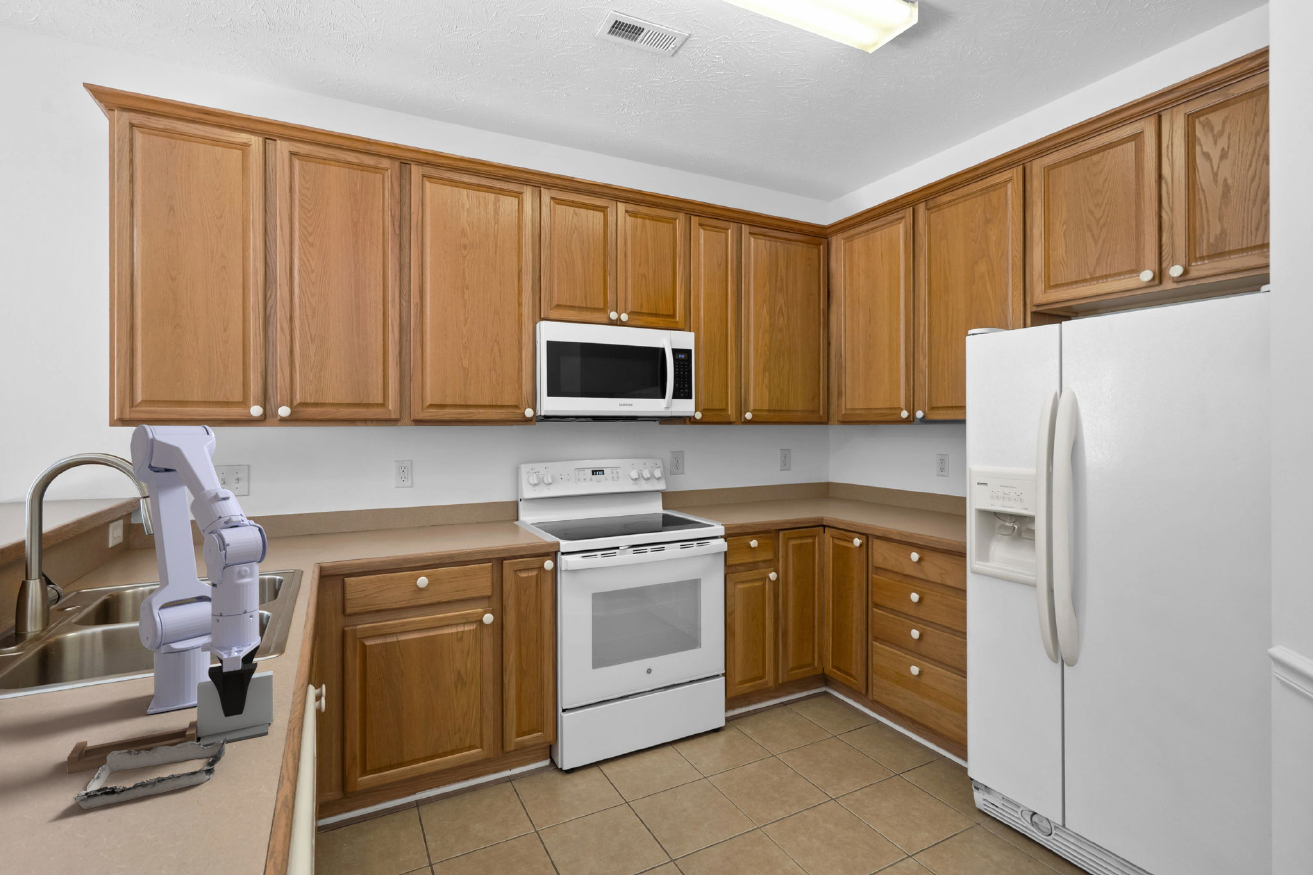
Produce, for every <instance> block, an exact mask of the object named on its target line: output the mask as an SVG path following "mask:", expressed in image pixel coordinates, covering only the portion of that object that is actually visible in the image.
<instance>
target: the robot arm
mask: <svg viewBox="0 0 1313 875" xmlns="http://www.w3.org/2000/svg"><path fill="white" fill-rule="evenodd" d="M216 441H217V439H216V436H215V433H214V431H213V430H212V428H211V427H210V426H208V425H206V424H201V425H149V424H148V425H147V424H139V425H137V427H136V428H135V429H134V430H133V432H132V435H131V440H130V445H129V446H130V448H129V449H130V456H131V458H130V459H131V465H132V466H131V467H132V472H133V474H134V475H133V476H134V479H135V480H136V481H139V482H142V483H144V484H146V488H147V491H148V496H149V502H150V503H149V504H150V512H151V520H152V529H153V538H154V545H155V553H156V554H155V556H156V560H157V561H156V562H157V571H158V578H159V579H158V580H159V586H158V587H157V588H156V589H155V590H153V591H152V592H151V593H150V594H149V595H147V596H146V597H145V598H144V599H143V600H142V602H141V603H140V607H139V621H138V633H139V634H138V635H139V638H140V641H141V644H142V645H143V647H144V648H146V649H147V650H149V651H153V698H152V700H151V702H150V704H149V705H148V709H147V710H146V714H148V715H151V714H157V713H162V712H167V711H174V710H179V709H186V708H191V707H197V686H198V683H200V682H206V681H212V682H213V683H214V685H215V687H216V689H217V691H218V694H219V698H220V702H221V706H222V710H223V713H224V716H225V717H230V716H235V715H240V714H243V711H244V707H245V702H246V697H247V691H248V687H249V683H250V680H251V678H252V676H253V674H255V672H256V670H257V667H258V662H254V660H255V657H256V654H257V653H258V651H259V649H260V647H261V646H260V645H261V642H262V641H261V639H262V638H261V636H260V564H261V563H263V562H264V560H266V557H267V554H268V538H267V535H266V533H265V532H266V531H265V530H264V527H263V526H262V525H260V524H259V523H255V522H254V520H251V519H250V520H249V519H248V518H247V516H246V514H245V512H244V511H243V509H242V507H241V505H240V503H239V501H238V499H237V497H236V496H235V494H234V493H233V491H231V490H229V489H226V488H222V486H221V483H220V481H219V478H218V475H217V472H216V469H215V466H214V464H213V459H214V456H215V452H216V449H217V446H216V445H217V442H216ZM187 489H188V491H189V493H190V494H191V495H192V497H193V498H194V499H193V500H192V501H191V504H190V507H189V501H188V500H189V499H188V493H187ZM189 508H190V509H189ZM190 512H191V514H192V516H193V518H194V520H195V523H196V524H197V527H198V529H199V531H200V532H201V535H202V537H203V538H204V540H203V547H202V556H203V560H204V564H205V567H206V577H207V582H210V584H211V585H209V584H207V583H206V582H203V581H202V580H200V579H199V578H198V570H197V563H196V556H195V548H194V541H193V540H194V539H193V533H192V532H193V531H192V525H191V524H192V523H191V517H190V516H191V515H190ZM187 600H192V601H187ZM182 601H187V602H182ZM175 602H176V604H173V605H167V604H171V603H175ZM177 602H182V603H178V604H177ZM163 605H167V606H163ZM211 653H212V654H213V655H215V656H216V657H217V659H218V661H219V663H220V665H216V666H211Z"/></svg>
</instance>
